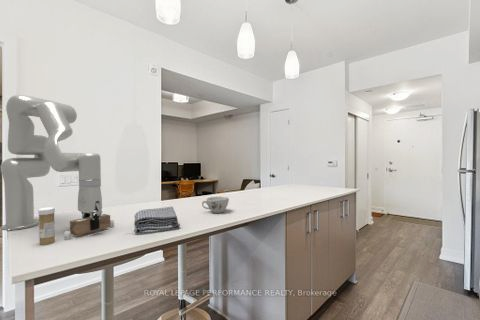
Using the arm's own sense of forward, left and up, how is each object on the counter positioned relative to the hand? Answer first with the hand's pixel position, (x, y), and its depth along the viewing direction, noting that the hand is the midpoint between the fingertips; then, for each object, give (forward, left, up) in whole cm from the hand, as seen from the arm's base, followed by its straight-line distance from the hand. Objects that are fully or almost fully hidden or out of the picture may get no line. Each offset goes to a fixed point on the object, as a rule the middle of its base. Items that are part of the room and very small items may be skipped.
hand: (91, 227), depth 96 cm
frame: (0, 0, -1) cm, 1 cm away
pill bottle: (-2, -14, -3) cm, 14 cm away
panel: (-3, 0, -3) cm, 4 cm away
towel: (+16, +20, -3) cm, 25 cm away
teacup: (+22, +55, -3) cm, 59 cm away
